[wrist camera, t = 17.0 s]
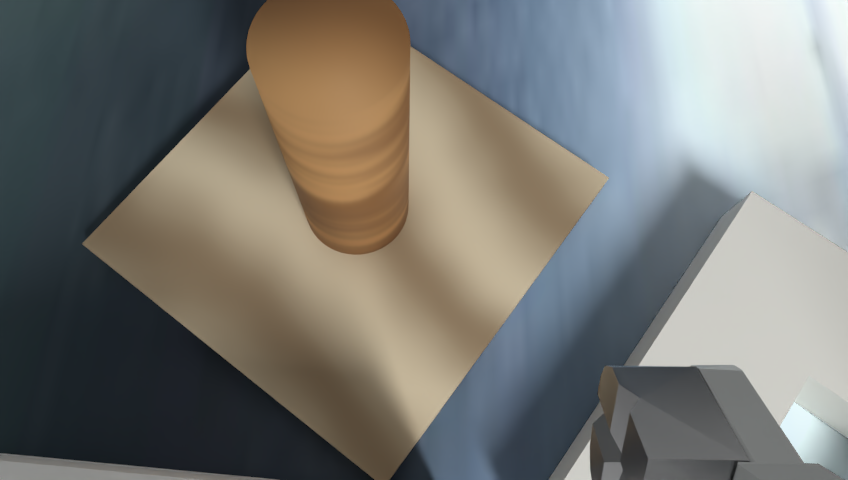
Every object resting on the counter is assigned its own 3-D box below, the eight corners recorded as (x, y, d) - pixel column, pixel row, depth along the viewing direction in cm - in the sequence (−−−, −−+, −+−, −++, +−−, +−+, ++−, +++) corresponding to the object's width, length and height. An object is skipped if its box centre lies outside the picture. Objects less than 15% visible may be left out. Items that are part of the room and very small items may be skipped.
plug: (390, 267, 30) (382, 135, 18) (291, 238, 30) (221, 90, 19) (421, 174, 31) (430, -2, 20) (325, 147, 31) (279, -42, 20)
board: (384, 486, 28) (383, 486, 27) (91, 250, 31) (82, 243, 30) (602, 186, 32) (608, 177, 31) (327, 3, 35) (325, -10, 34)
